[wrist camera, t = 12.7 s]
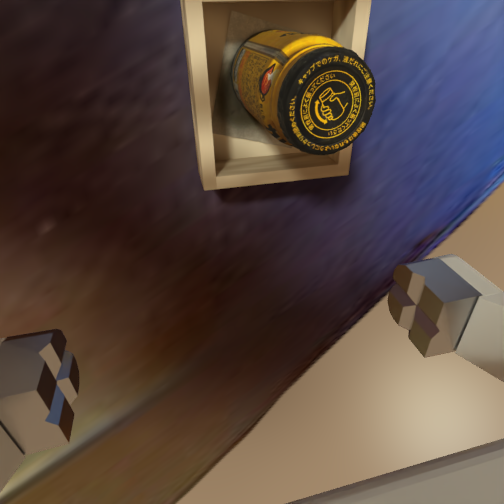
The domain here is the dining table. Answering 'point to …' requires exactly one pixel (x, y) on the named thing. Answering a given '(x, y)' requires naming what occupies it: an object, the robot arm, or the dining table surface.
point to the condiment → (291, 88)
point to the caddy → (207, 79)
